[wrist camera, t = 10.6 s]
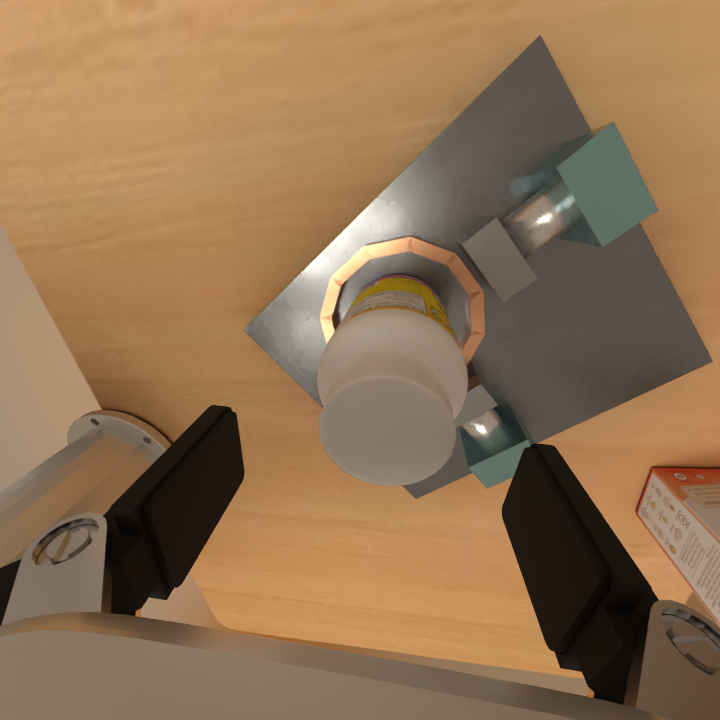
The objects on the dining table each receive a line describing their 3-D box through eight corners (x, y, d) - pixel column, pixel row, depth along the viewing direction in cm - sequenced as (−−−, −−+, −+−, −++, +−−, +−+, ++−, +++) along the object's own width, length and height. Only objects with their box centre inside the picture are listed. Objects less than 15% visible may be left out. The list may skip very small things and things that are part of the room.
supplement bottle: (438, 365, 23) (469, 518, 11) (350, 358, 24) (297, 496, 12) (451, 273, 20) (509, 356, 8) (350, 269, 21) (280, 341, 9)
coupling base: (415, 490, 30) (416, 538, 26) (249, 325, 25) (214, 350, 20) (699, 355, 21) (778, 394, 16) (532, 45, 16) (582, -22, 11)
